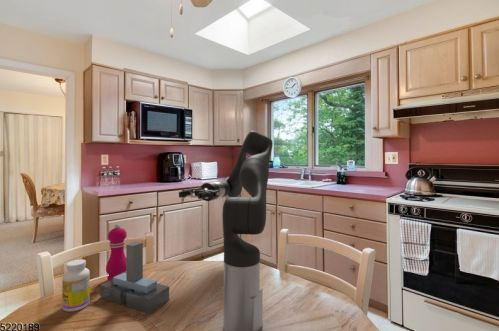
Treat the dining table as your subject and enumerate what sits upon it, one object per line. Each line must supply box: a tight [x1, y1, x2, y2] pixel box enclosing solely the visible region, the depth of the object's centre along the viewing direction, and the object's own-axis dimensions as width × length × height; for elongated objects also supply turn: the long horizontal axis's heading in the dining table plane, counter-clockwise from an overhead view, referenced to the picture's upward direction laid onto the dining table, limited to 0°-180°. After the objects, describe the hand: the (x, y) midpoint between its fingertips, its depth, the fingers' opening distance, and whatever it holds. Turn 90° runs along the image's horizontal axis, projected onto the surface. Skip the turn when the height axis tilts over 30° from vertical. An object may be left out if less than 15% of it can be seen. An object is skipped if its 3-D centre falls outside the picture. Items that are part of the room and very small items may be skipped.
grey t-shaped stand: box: [113, 240, 158, 294], centre depth 80 cm, size 14×4×16 cm, turn 66°
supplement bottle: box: [61, 259, 91, 312], centre depth 75 cm, size 7×7×13 cm
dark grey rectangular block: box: [99, 279, 170, 314], centre depth 80 cm, size 20×8×4 cm, turn 66°
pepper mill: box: [105, 223, 128, 282], centre depth 92 cm, size 7×7×20 cm
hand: (189, 195), depth 94 cm, fingers open, 8 cm apart
